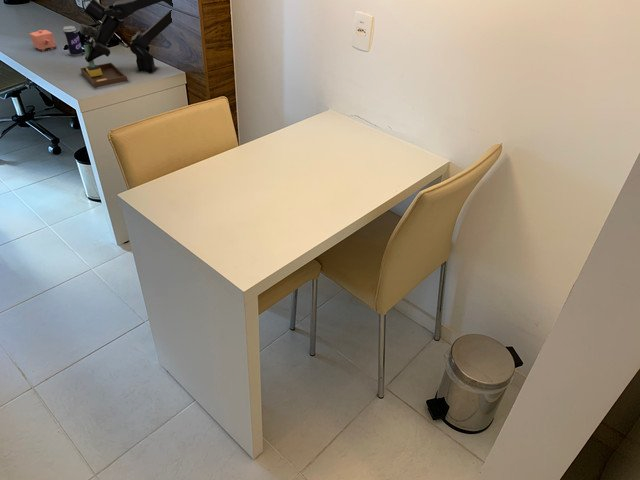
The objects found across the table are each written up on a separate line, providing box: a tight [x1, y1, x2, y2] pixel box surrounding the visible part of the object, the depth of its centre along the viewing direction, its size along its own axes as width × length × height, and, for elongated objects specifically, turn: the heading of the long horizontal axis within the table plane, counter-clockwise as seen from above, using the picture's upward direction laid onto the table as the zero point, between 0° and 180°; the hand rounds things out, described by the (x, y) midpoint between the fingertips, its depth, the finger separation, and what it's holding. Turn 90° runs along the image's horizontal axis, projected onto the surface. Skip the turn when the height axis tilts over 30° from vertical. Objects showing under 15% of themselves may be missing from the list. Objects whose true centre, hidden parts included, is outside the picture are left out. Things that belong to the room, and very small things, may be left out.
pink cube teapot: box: [29, 29, 57, 52], centre depth 230 cm, size 8×12×8 cm, turn 46°
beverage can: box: [62, 25, 84, 57], centre depth 224 cm, size 6×6×12 cm
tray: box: [80, 62, 128, 88], centre depth 205 cm, size 19×13×3 cm
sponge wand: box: [83, 44, 102, 77], centre depth 203 cm, size 5×6×12 cm
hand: (86, 60), depth 202 cm, fingers closed on sponge wand, 2 cm apart
